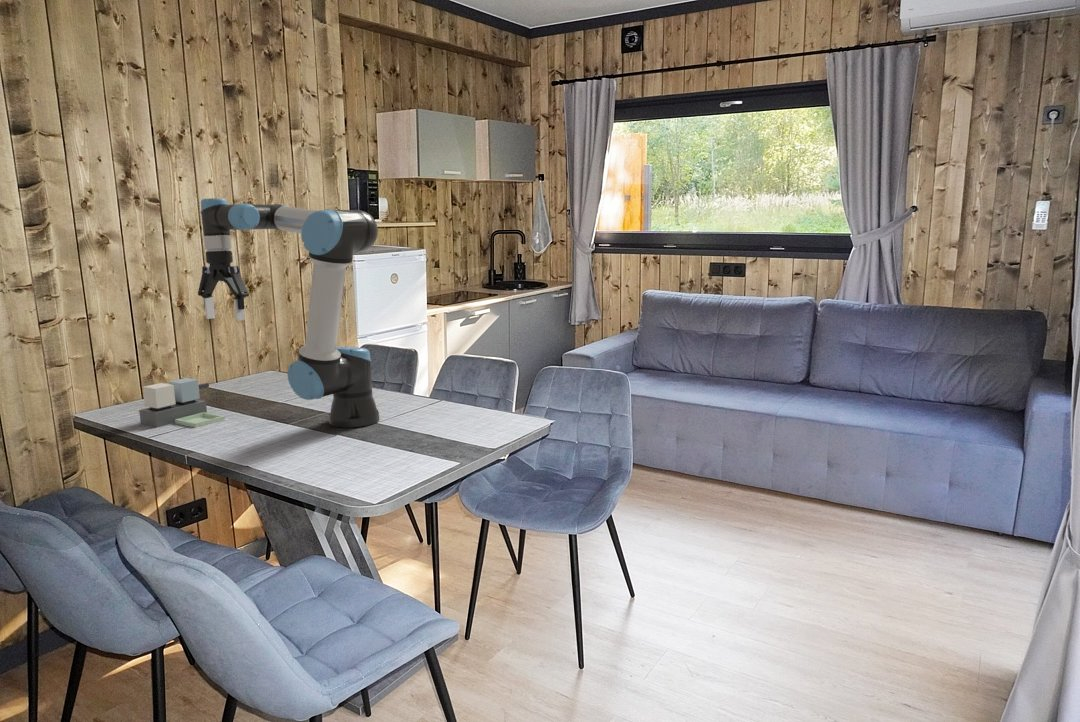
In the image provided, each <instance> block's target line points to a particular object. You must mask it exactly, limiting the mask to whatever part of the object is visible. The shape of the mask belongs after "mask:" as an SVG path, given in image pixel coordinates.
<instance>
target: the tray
mask: <svg viewBox="0 0 1080 722" xmlns="http://www.w3.org/2000/svg"><path fill="white" fill-rule="evenodd" d="M225 419H226V418H225V415H220V414H216V413H210V412H207V413H205V412H202V413H198V414H194V415H191V416H187V417H183V418H179V419H175V423H174V424H176V425H180V426H186V427H190V428H195V429H197V428H200V427H204V426H208V425H212V424H215V423H216V424H217V423H219V422H223V421H226V420H225Z"/></svg>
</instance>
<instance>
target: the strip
mask: <svg viewBox="0 0 1080 722" xmlns="http://www.w3.org/2000/svg"><path fill="white" fill-rule="evenodd" d="M168 384H171V385H174V393H175V403H176V404H174V405H171V408H170V409H166V410H162V411H158V412H157V411H152V410H151V408H150V407H147V408H143V409H139V410H138V413H139V420H140V425H142V426H147V427H152V428H156V429H157V428H158V429H159V428H161V427H166V426H170V425H172V424H175V419H179V418H183V417H187V416H191V415H194V414H198V413H202V412H205V413H208V411H207V410H208V409H207V401H206V400H201V396H200V390H202V389H207V388H209V387H210V383H208V382H205V383H201V384H199V379H195V378H189V377H184V378H179V379H174V380H169V381H168Z"/></svg>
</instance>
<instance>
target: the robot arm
mask: <svg viewBox="0 0 1080 722" xmlns="http://www.w3.org/2000/svg"><path fill="white" fill-rule="evenodd" d="M200 200H201V201H200V214H201V215H200V216H201V223H202V231H203V233H202V234H203V243H204V250H207V251H205V261H206V263H207V264H208V265H204V266H203V265H202V267H201V272H202V273H201V277H200V283H199V286H198V292H197V295H198V296H200V297H201V298H203V305H204V308H205V309H204V310H205V311H204V312H205V318H206V320H210V319H216V313H215V301H214V300H215V299H214V296H213V293H214V291H215V290H216V286H217V285H218V283H219V282H223V283H225V284H226V286H227V287H228V289H229V290H230V291H231V293H232V294H233V296H234V299H233V303H234V312H235V313H234V314H235V315H234V316H235V322H238V321H239V322H240V321H245V320H246V317H245V307H246V305H245V298H247V297H249V296H250V295H249V294H250V293H249V291H248V290H247V287H246V285H245V283H244V280H243V277H242V275H241V273H240V267H239V265H233V266H232V265H231V263H233V262H234V258H233V251H232V250H231V249H232V241H231V231H248V230H249V231H250V230H273V231H274V230H275V231H282V232H283V231H284V232H289V233H295V234H300V235H301V241H302V243H303V246H304V247H303V248H305V249H306V251H307V252H308V258H309V259H310V261H311V262H312V263H313V264H312V265H313V266H312V276H311V286H310V297H309V304H308V313H307V314H308V315H307V323H306V332H305V333H306V334H305V343H304V345H303V346H301V347H300V348H299V349H298V355H297V360H294V361H293V362H291V364H290V365H289V366H288V369H287V380H288V384H289V386H290V388H291V389H292V391H293V392H294V394H295V395H296V396H298V397H299V398H301V399H303V400H305V401H310V400H318V399H321V398H325V397H326V396H327V397H328V396H330V395H332V397H333V398H332V400H331V401H332V402H331V405H330V412H329V414H328V424H329V425H330V426H332V427H337V428H359V427H366V426H367V427H368V426H370V425H373V424H377V422H380V411H379V409H377V405H376V402H375V399H374V397H373V384H372V383H373V382H372V381H373V380H372V360H371V352H370V351H369V349H367V348H365V347H357V346H337V344H338V335H339V328H340V320H341V319H340V318H341V311H342V304H343V303H342V302H343V293H344V287H345V279H346V278H345V277H346V269H347V267H349V266H350V265H351V264H353V258H354V253H357V252H364V251H366V250H369V248H371V247H372V246H373V245H374V244H375V242H376V240H377V238H378V233H379V229H378V228H379V227H378V224H377V222H376V220H375V219H374V217H373V216H372V215H371V214H370V213H368V212H366V211H364V210H360V209H330V208H328V209H327V208H326V209H324V210H323V209H322V210H321V209H320V210H317V209H308V208H301V207H294V206H288V205H284V204H280V203H279V204H278V203H274V204H257V203H256V204H253V203H251V204H250V203H244V202H243V203H233V204H228V200H227V199H226V198H221V197H220V198H218V197H216V198H213V197H212V198H203V199H200Z"/></svg>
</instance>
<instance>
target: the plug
mask: <svg viewBox="0 0 1080 722" xmlns="http://www.w3.org/2000/svg"><path fill="white" fill-rule="evenodd" d="M142 390H143V398H144V407H147V408H151V410H152V411H157V412H158V411H162V410H166V409H170V408H171V405H174V404H176V403H175V402H176V401H175V393H174V385H171V384H169V383H164V382H159V383H155V384H150V385H145V386H142Z"/></svg>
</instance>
